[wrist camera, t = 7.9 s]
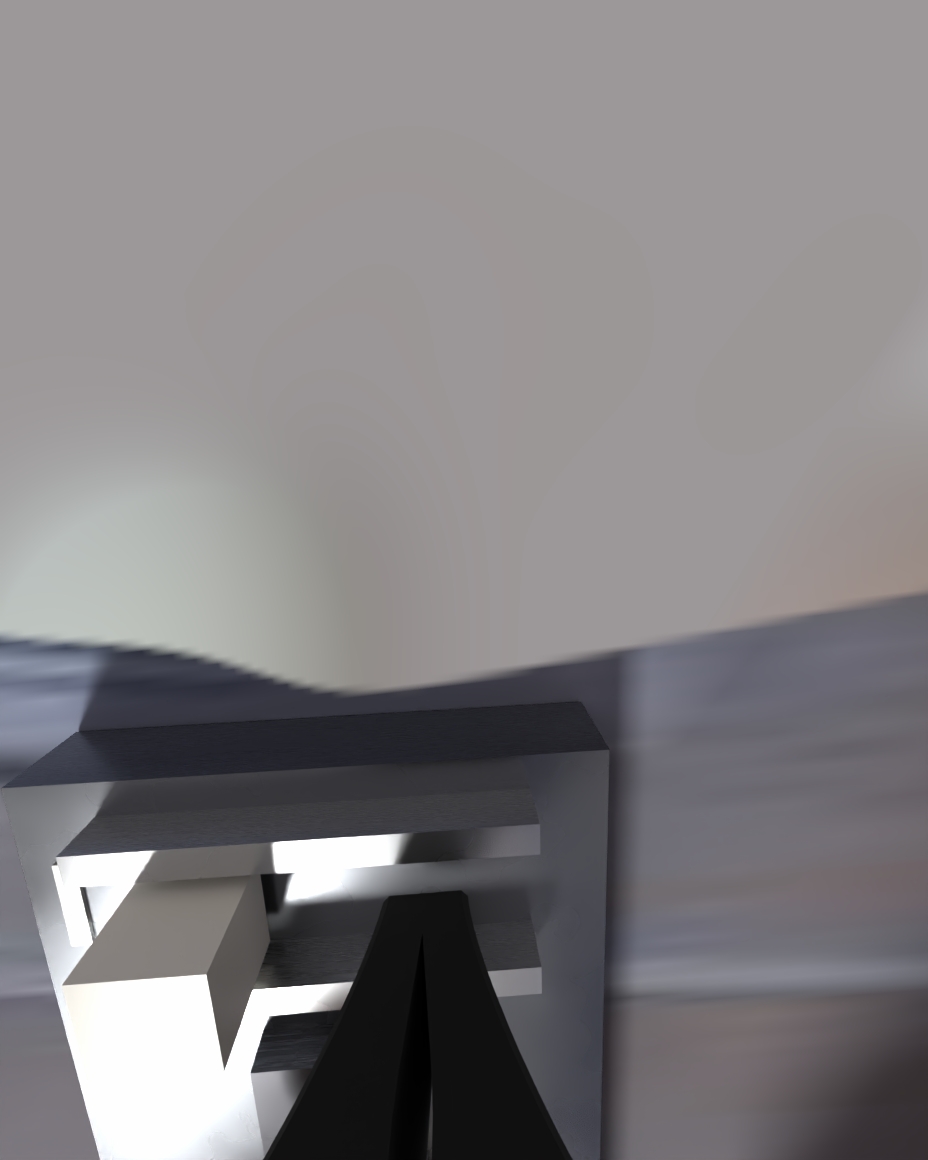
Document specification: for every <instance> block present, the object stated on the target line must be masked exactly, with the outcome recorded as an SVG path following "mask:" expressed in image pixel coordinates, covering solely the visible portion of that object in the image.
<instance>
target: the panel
mask: <svg viewBox="0 0 928 1160" xmlns="http://www.w3.org/2000/svg"><path fill="white" fill-rule="evenodd" d="M1 791H2V795H3V798H4V802H5V806H6V810H7V813H8V817H9V821H10V825H11V828H12V832H13V836H14V840H15V843H16V847H17V851H18V854H19V858H20V862H21V866H22V869H23V873H24V877H25V881H26V884H27V888H28V892H29V895H30V899H31V903H32V907H33V910H34V914H35V918H36V922H37V925H38V929H39V933H40V937H41V940H42V944H43V948H44V951H45V955H46V959H47V963H48V966H49V970H50V974H51V978H52V981H53V985H54V989H55V993H56V996H57V1000H58V1004H59V1007H60V1011H61V1015H62V1019H63V1022H64V1026H65V1030H66V1034H67V1037H68V1041H69V1045H70V1049H71V1052H72V1056H73V1060H74V1063H75V1067H76V1071H77V1075H78V1078H79V1082H80V1086H81V1090H82V1093H83V1097H84V1101H85V1104H86V1108H87V1112H88V1116H89V1119H90V1123H91V1127H92V1131H93V1134H94V1138H95V1142H96V1146H97V1149H98V1153H99V1157H100V1160H263V1159H264V1157H265V1155H266V1153H267V1152H268V1150H269V1148H270V1146H271V1144H272V1143H273V1141H274V1139H275V1137H276V1136H277V1134H278V1132H279V1130H280V1128H281V1127H282V1125H283V1123H284V1121H285V1119H286V1117H287V1116H288V1114H289V1112H290V1110H291V1108H292V1106H293V1105H294V1103H295V1101H296V1099H297V1097H298V1095H299V1093H300V1091H301V1089H302V1087H303V1085H304V1083H305V1081H306V1079H307V1077H308V1075H309V1074H310V1072H311V1070H312V1068H313V1066H314V1064H315V1062H316V1060H317V1058H318V1056H319V1054H320V1052H321V1050H322V1048H323V1046H324V1044H325V1042H326V1040H327V1038H328V1036H329V1034H330V1032H331V1030H332V1028H333V1026H334V1023H335V1021H336V1019H337V1017H338V1015H339V1012H340V1010H341V1008H342V1006H343V1004H344V1002H345V999H346V997H347V995H348V993H349V991H350V988H351V986H352V984H353V982H354V980H355V977H356V975H357V972H358V970H359V968H360V965H361V963H362V960H363V958H364V955H365V953H366V951H367V948H368V945H369V943H370V940H371V938H372V935H373V932H374V929H375V926H376V924H377V921H378V918H379V915H380V911H381V908H382V905H383V902H384V901H385V900H386V899H387V898H388V897H389V896H394V895H407V894H420V893H432V892H445V891H458V890H462V891H463V892H464V893H465V894H466V895H468V901H469V908H470V913H471V917H472V922H473V926H474V930H475V933H476V937H477V940H478V944H479V947H480V950H481V953H482V956H483V959H484V962H485V965H486V968H487V971H488V974H489V977H490V979H491V982H492V985H493V987H494V990H495V992H496V995H497V997H498V1000H499V1003H500V1005H501V1008H502V1010H503V1013H504V1015H505V1018H506V1020H507V1023H508V1025H509V1028H510V1030H511V1032H512V1035H513V1037H514V1039H515V1042H516V1044H517V1046H518V1048H519V1051H520V1053H521V1055H522V1057H523V1060H524V1062H525V1064H526V1066H527V1068H528V1070H529V1073H530V1075H531V1077H532V1079H533V1081H534V1083H535V1086H536V1088H537V1090H538V1092H539V1094H540V1096H541V1098H542V1100H543V1102H544V1104H545V1106H546V1108H547V1111H548V1113H549V1115H550V1117H551V1119H552V1121H553V1123H554V1125H555V1127H556V1129H557V1131H558V1133H559V1135H560V1136H561V1138H562V1140H563V1142H564V1144H565V1146H566V1148H567V1150H568V1152H569V1154H570V1155H571V1157H572V1159H573V1160H600V1139H601V1096H602V1052H603V1009H604V965H605V922H606V879H607V835H608V792H609V748H608V746H607V745H606V743H605V741H604V740H603V738H602V736H601V735H600V733H599V731H598V730H597V728H596V726H595V725H594V723H593V721H592V720H591V718H590V716H589V714H588V713H587V711H586V709H585V708H584V706H583V704H582V703H581V702H570V703H553V704H537V705H520V706H503V707H487V708H470V709H453V710H437V711H420V712H403V713H387V714H370V715H353V716H337V717H320V718H303V719H286V720H270V721H253V722H236V723H220V724H203V725H186V726H170V727H153V728H136V729H120V730H103V731H86V732H76V733H74V734H73V735H72V736H70V737H69V738H68V739H66V740H65V741H64V742H62V743H61V744H60V745H58V746H57V747H56V748H54V749H53V750H52V751H50V752H49V753H48V754H46V755H45V756H44V757H42V758H41V759H40V760H38V761H37V762H36V763H34V764H33V765H32V766H30V767H29V768H28V769H26V770H25V771H24V772H22V773H21V774H20V775H18V776H17V777H16V778H14V779H13V780H12V781H10V782H9V783H7V784H6V785H5V786H3V787H2V788H1ZM257 874H260V876H261V883H262V889H263V896H264V903H265V909H266V916H267V923H268V929H269V936H270V943H269V945H268V948H267V951H266V954H265V957H264V960H263V963H262V965H261V968H260V971H259V974H258V977H257V980H256V983H255V985H254V988H253V991H252V994H251V997H250V1000H249V1003H248V1005H247V1008H246V1011H245V1014H244V1017H243V1020H242V1023H241V1025H240V1028H239V1031H238V1034H237V1037H236V1040H235V1042H234V1045H233V1048H232V1051H231V1054H230V1057H229V1060H228V1062H227V1065H226V1068H225V1071H224V1072H213V1073H201V1074H189V1075H177V1076H165V1077H154V1078H142V1079H130V1080H118V1081H106V1082H95V1083H87V1080H86V1076H85V1073H84V1069H83V1065H82V1061H81V1057H80V1054H79V1050H78V1046H77V1042H76V1038H75V1035H74V1031H73V1027H72V1023H71V1019H70V1016H69V1012H68V1008H67V1004H66V1001H65V997H64V993H63V989H62V984H63V983H64V982H65V980H66V979H67V977H68V976H69V975H70V973H71V972H72V970H73V969H74V968H75V966H76V965H77V964H78V962H79V961H80V959H81V958H82V957H83V955H84V954H85V952H86V951H87V950H88V948H89V947H90V945H91V944H92V943H93V941H94V940H95V938H96V937H97V936H98V934H99V933H100V931H101V930H102V929H103V927H104V926H105V925H106V923H107V922H108V920H109V919H110V918H111V916H112V915H113V913H114V912H115V911H116V909H117V908H118V906H119V905H120V904H121V902H122V901H123V899H124V898H125V897H126V895H127V894H128V892H129V891H130V890H131V888H132V887H133V886H134V884H135V883H144V882H158V881H173V880H187V879H201V878H215V877H229V876H243V875H257ZM432 1123H433V1107H432V1092H431V1106H430V1120H429V1134H428V1148H427V1160H432Z"/></svg>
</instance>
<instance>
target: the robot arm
mask: <svg viewBox="0 0 928 1160" xmlns="http://www.w3.org/2000/svg"><path fill="white" fill-rule="evenodd" d="M431 1092H432V1107H433V1123H432V1160H573V1159H572V1157H571V1155H570V1154H569V1152H568V1150H567V1148H566V1146H565V1144H564V1142H563V1140H562V1138H561V1136H560V1135H559V1133H558V1131H557V1129H556V1127H555V1125H554V1123H553V1121H552V1119H551V1117H550V1115H549V1113H548V1111H547V1108H546V1106H545V1104H544V1102H543V1100H542V1098H541V1096H540V1094H539V1092H538V1090H537V1088H536V1086H535V1083H534V1081H533V1079H532V1077H531V1075H530V1073H529V1070H528V1068H527V1066H526V1064H525V1062H524V1060H523V1057H522V1055H521V1053H520V1051H519V1048H518V1046H517V1044H516V1042H515V1039H514V1037H513V1035H512V1032H511V1030H510V1028H509V1025H508V1023H507V1020H506V1018H505V1015H504V1013H503V1010H502V1008H501V1005H500V1003H499V1000H498V997H497V995H496V992H495V990H494V987H493V985H492V982H491V979H490V977H489V974H488V971H487V968H486V965H485V962H484V959H483V956H482V953H481V950H480V947H479V944H478V940H477V937H476V933H475V930H474V926H473V922H472V917H471V913H470V908H469V901H468V895H466V894H465V893H464V892H463V891H462V890H458V891H445V892H432V893H420V894H407V895H394V896H389V897H388V898H387V899H386V900H385V901H384V902H383V905H382V908H381V911H380V915H379V918H378V921H377V924H376V926H375V929H374V932H373V935H372V938H371V940H370V943H369V945H368V948H367V951H366V953H365V955H364V958H363V960H362V963H361V965H360V968H359V970H358V972H357V975H356V977H355V980H354V982H353V984H352V986H351V988H350V991H349V993H348V995H347V997H346V999H345V1002H344V1004H343V1006H342V1008H341V1010H340V1012H339V1015H338V1017H337V1019H336V1021H335V1023H334V1026H333V1028H332V1030H331V1032H330V1034H329V1036H328V1038H327V1040H326V1042H325V1044H324V1046H323V1048H322V1050H321V1052H320V1054H319V1056H318V1058H317V1060H316V1062H315V1064H314V1066H313V1068H312V1070H311V1072H310V1074H309V1075H308V1077H307V1079H306V1081H305V1083H304V1085H303V1087H302V1089H301V1091H300V1093H299V1095H298V1097H297V1099H296V1101H295V1103H294V1105H293V1106H292V1108H291V1110H290V1112H289V1114H288V1116H287V1117H286V1119H285V1121H284V1123H283V1125H282V1127H281V1128H280V1130H279V1132H278V1134H277V1136H276V1137H275V1139H274V1141H273V1143H272V1144H271V1146H270V1148H269V1150H268V1152H267V1153H266V1155H265V1157H264V1159H263V1160H427V1148H428V1134H429V1120H430V1106H431Z"/></svg>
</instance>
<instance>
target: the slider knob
mask: <svg viewBox="0 0 928 1160" xmlns="http://www.w3.org/2000/svg"><path fill="white" fill-rule="evenodd" d="M269 943H270V936H269V929H268V923H267V916H266V909H265V903H264V896H263V889H262V883H261V876H260V874H257V875H243V876H229V877H215V878H201V879H187V880H173V881H158V882H144V883H135V884H134V886H133V887H132V888H131V890H130V891H129V892H128V894H127V895H126V897H125V898H124V899H123V901H122V902H121V904H120V905H119V906H118V908H117V909H116V911H115V912H114V913H113V915H112V916H111V918H110V919H109V920H108V922H107V923H106V925H105V926H104V927H103V929H102V930H101V931H100V933H99V934H98V936H97V937H96V938H95V940H94V941H93V943H92V944H91V945H90V947H89V948H88V950H87V951H86V952H85V954H84V955H83V957H82V958H81V959H80V961H79V962H78V964H77V965H76V966H75V968H74V969H73V970H72V972H71V973H70V975H69V976H68V977H67V979H66V980H65V982H64V983H63V984H62V989H63V993H64V997H65V1001H66V1004H67V1008H68V1012H69V1016H70V1019H71V1023H72V1027H73V1031H74V1035H75V1038H76V1042H77V1046H78V1050H79V1054H80V1057H81V1061H82V1065H83V1069H84V1073H85V1076H86V1080H87V1083H95V1082H106V1081H118V1080H130V1079H142V1078H154V1077H165V1076H177V1075H189V1074H201V1073H213V1072H224V1071H225V1068H226V1065H227V1062H228V1060H229V1057H230V1054H231V1051H232V1048H233V1045H234V1042H235V1040H236V1037H237V1034H238V1031H239V1028H240V1025H241V1023H242V1020H243V1017H244V1014H245V1011H246V1008H247V1005H248V1003H249V1000H250V997H251V994H252V991H253V988H254V985H255V983H256V980H257V977H258V974H259V971H260V968H261V965H262V963H263V960H264V957H265V954H266V951H267V948H268V945H269Z"/></svg>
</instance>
